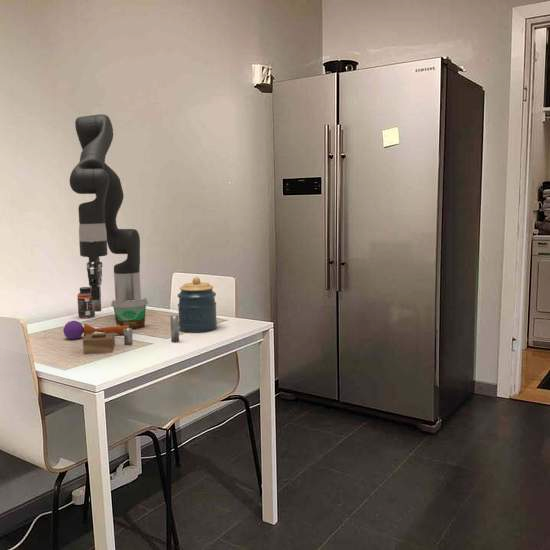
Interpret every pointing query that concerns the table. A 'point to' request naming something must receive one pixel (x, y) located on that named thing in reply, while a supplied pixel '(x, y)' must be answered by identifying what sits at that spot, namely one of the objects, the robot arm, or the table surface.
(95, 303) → the long pin
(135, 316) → the food container
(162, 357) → the table surface
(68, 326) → the kendama
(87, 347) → the hole block
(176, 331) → the medium pin
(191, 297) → the canister
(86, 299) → the supplement bottle
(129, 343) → the short pin
